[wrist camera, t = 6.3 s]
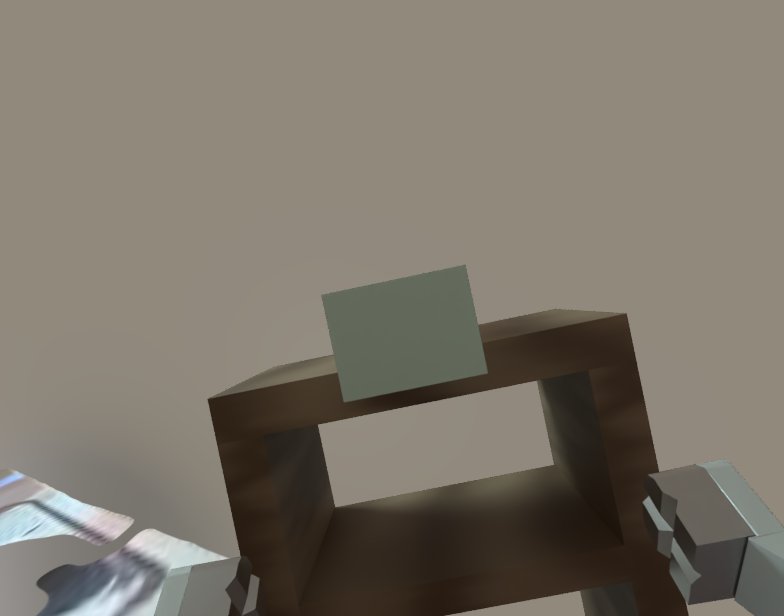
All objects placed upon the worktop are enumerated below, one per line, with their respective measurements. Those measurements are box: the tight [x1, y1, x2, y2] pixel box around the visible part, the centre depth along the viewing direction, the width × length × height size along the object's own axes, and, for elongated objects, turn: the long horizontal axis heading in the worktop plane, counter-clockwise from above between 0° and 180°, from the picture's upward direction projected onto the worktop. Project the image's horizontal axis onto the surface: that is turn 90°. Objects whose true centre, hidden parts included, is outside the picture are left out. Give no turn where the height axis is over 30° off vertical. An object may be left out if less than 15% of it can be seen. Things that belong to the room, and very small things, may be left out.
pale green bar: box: [322, 265, 488, 402], centre depth 24 cm, size 4×19×3 cm, turn 178°
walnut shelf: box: [208, 309, 688, 616], centre depth 28 cm, size 18×11×26 cm, turn 88°
